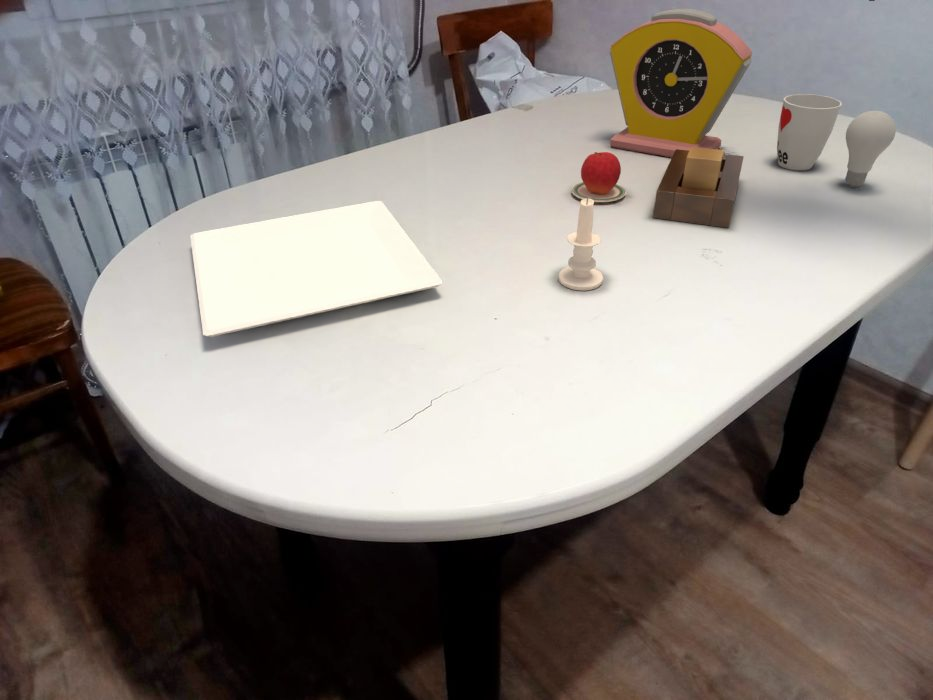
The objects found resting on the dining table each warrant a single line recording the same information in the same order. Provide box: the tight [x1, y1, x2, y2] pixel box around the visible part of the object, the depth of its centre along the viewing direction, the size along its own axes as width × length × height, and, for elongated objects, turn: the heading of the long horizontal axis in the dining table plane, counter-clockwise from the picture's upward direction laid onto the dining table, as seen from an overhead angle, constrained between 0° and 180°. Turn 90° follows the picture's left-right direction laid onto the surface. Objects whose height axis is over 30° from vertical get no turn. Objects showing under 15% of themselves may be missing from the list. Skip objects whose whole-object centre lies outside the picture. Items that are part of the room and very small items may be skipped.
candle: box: [558, 197, 604, 292], centre depth 75 cm, size 5×5×10 cm
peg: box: [682, 147, 725, 191], centre depth 91 cm, size 4×4×8 cm
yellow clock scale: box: [609, 7, 753, 159], centre depth 108 cm, size 22×9×22 cm, turn 56°
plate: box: [189, 200, 444, 338], centre depth 81 cm, size 26×26×2 cm
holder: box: [652, 149, 745, 229], centre depth 95 cm, size 10×18×4 cm, turn 157°
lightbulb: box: [844, 110, 897, 188], centre depth 95 cm, size 6×6×11 cm
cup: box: [776, 93, 843, 171], centre depth 103 cm, size 8×8×10 cm
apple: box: [571, 151, 627, 203], centre depth 97 cm, size 8×8×6 cm
